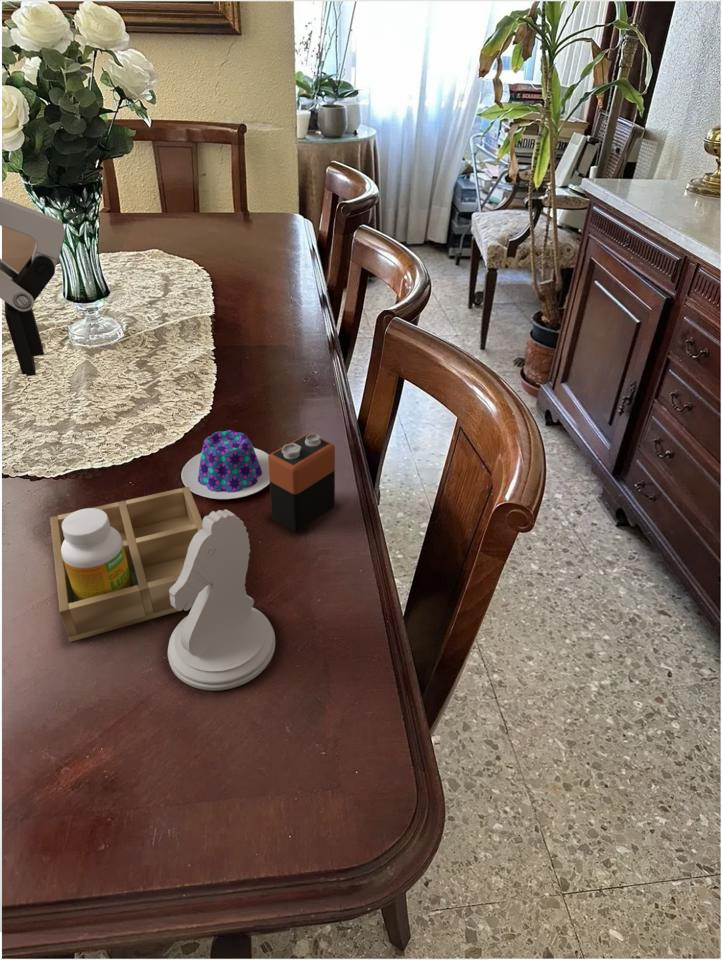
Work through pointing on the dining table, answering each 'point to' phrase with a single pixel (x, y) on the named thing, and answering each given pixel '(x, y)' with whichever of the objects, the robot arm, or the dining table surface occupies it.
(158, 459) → the dining table surface
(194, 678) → the chess piece
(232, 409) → the dining table surface
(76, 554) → the supplement bottle
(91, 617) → the grid
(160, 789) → the dining table surface
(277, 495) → the battery
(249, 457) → the pudding
